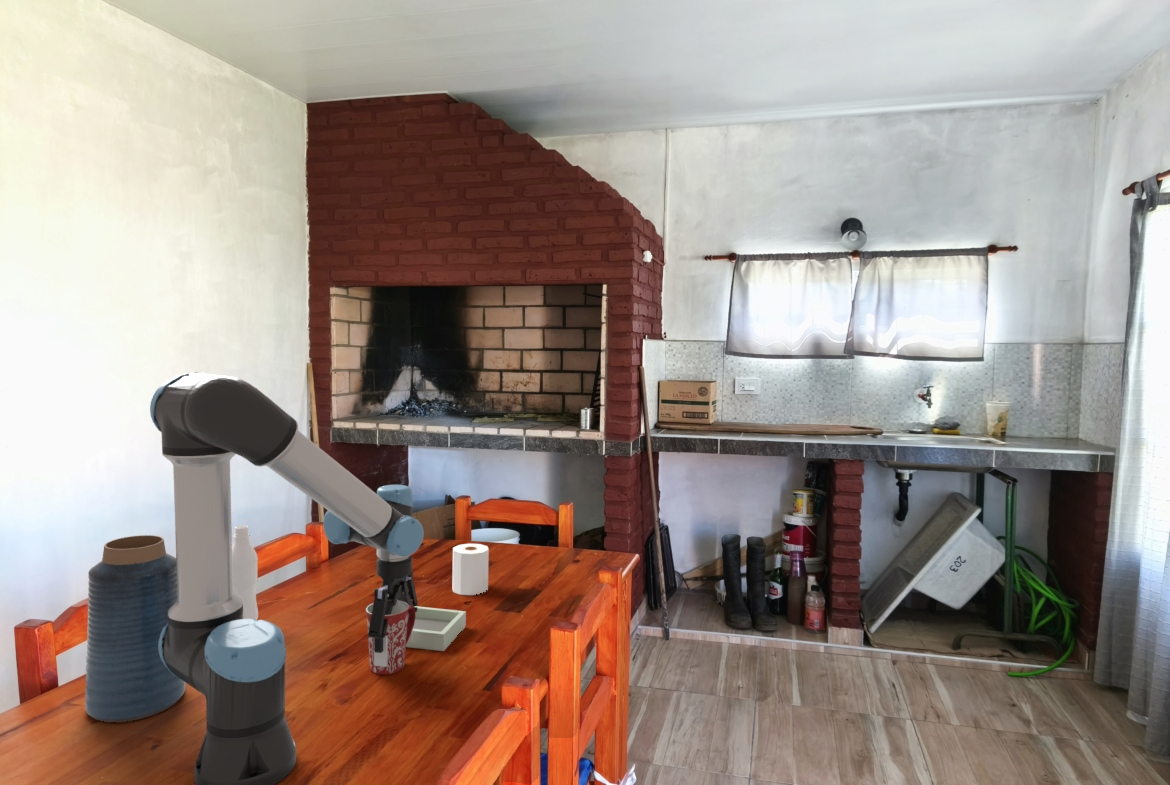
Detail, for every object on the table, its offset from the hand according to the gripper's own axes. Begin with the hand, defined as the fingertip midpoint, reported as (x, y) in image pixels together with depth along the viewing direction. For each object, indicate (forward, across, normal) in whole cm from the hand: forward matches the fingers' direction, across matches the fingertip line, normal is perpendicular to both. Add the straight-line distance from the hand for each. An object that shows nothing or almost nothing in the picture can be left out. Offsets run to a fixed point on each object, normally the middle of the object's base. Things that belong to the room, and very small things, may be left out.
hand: (394, 652), depth 156 cm
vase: (+2, -27, +40) cm, 49 cm away
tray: (+3, +16, +1) cm, 16 cm away
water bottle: (+3, +9, +44) cm, 45 cm away
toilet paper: (+3, +49, 0) cm, 49 cm away
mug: (+3, 0, 0) cm, 3 cm away
